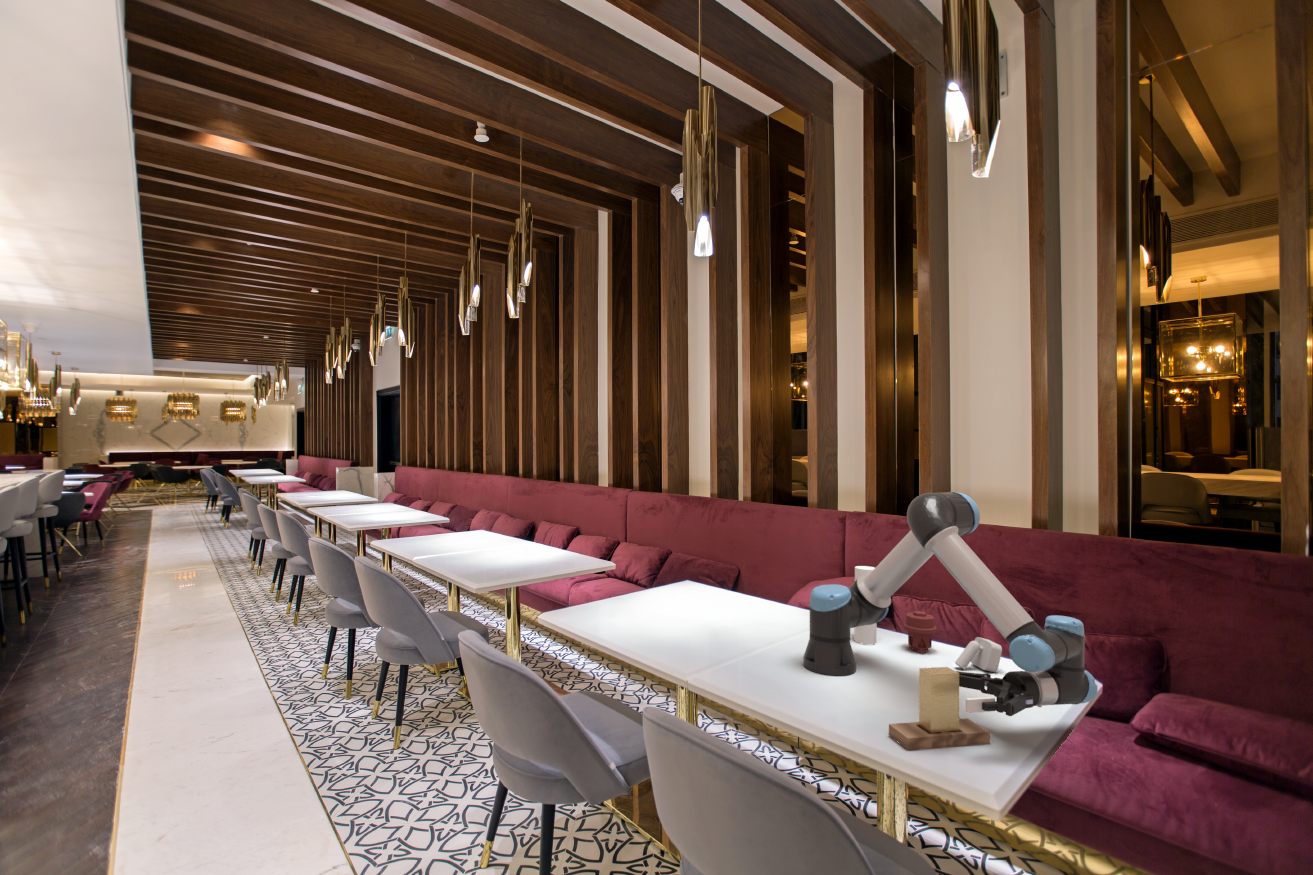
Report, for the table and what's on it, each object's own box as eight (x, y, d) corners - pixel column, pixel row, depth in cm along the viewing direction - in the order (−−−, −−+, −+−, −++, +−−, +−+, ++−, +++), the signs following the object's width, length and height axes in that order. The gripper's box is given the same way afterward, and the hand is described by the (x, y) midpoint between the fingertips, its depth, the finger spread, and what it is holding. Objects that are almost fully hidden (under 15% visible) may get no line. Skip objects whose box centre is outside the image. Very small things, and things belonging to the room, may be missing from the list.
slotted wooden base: (907, 750, 128) (907, 738, 128) (888, 735, 135) (888, 723, 135) (989, 743, 132) (989, 731, 132) (967, 729, 139) (967, 718, 139)
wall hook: (947, 662, 184) (954, 630, 184) (978, 670, 184) (985, 638, 185) (962, 671, 176) (970, 638, 176) (995, 680, 176) (1003, 646, 177)
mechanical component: (932, 647, 201) (940, 656, 191) (900, 644, 203) (906, 653, 193) (932, 609, 201) (940, 617, 192) (900, 607, 203) (906, 614, 194)
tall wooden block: (930, 744, 131) (930, 674, 131) (919, 736, 135) (919, 668, 135) (959, 742, 132) (959, 673, 133) (946, 734, 136) (947, 666, 136)
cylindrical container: (876, 639, 208) (876, 566, 209) (876, 645, 201) (877, 570, 202) (854, 637, 210) (855, 565, 211) (854, 643, 203) (854, 568, 204)
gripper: (1076, 729, 125) (985, 735, 121) (988, 684, 150) (911, 689, 146) (1075, 692, 125) (985, 698, 121) (988, 654, 150) (911, 657, 146)
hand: (945, 693), depth 133 cm, fingers open, 13 cm apart
